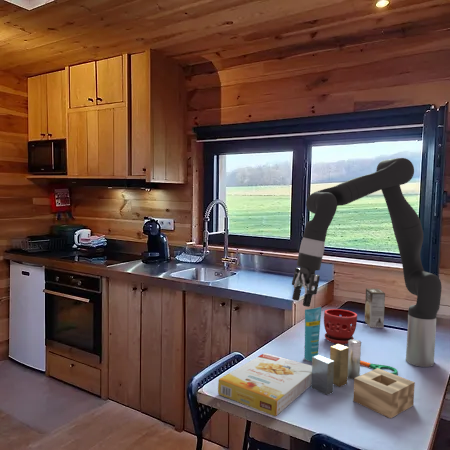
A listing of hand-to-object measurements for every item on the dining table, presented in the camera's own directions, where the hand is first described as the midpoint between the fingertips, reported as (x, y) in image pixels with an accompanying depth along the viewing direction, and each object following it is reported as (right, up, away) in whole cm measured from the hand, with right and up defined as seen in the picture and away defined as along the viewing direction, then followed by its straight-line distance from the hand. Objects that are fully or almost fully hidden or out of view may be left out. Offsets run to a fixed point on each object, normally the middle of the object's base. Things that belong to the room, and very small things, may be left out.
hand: (300, 303), depth 137 cm
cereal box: (-10, -27, -3) cm, 29 cm away
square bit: (+12, -26, +1) cm, 29 cm away
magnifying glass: (+28, -26, +13) cm, 40 cm away
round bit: (+19, -26, +6) cm, 32 cm away
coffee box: (+45, -21, +61) cm, 79 cm away
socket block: (+22, -27, -12) cm, 37 cm away
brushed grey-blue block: (+6, -26, -4) cm, 27 cm away
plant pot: (+23, -23, +39) cm, 51 cm away
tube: (+8, -24, +20) cm, 32 cm away
